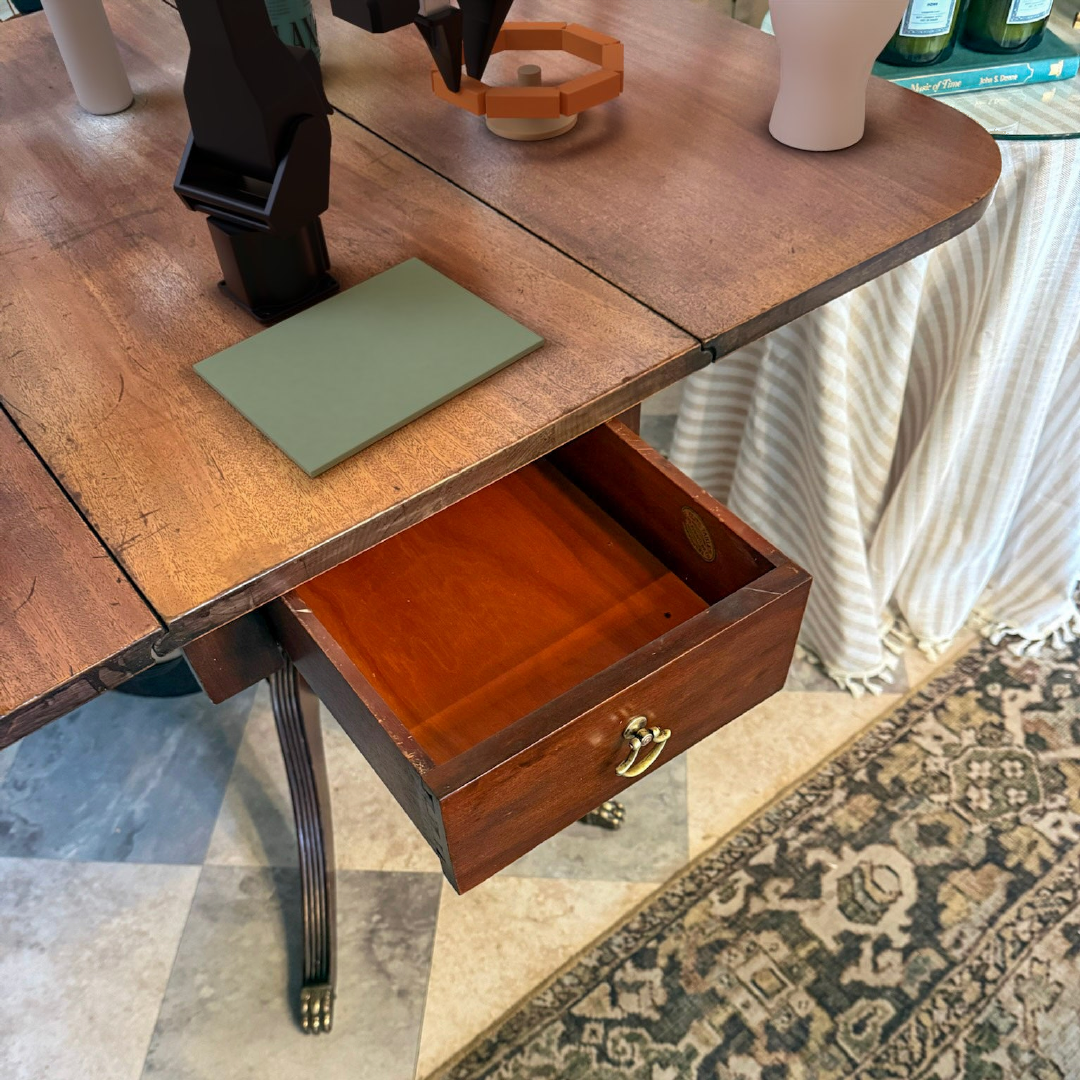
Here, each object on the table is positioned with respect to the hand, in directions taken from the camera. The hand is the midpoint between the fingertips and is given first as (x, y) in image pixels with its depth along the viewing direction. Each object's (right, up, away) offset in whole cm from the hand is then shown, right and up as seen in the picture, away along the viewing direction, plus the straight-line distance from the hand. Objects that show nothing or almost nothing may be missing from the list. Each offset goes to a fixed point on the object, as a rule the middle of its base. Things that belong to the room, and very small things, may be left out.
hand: (464, 87), depth 81 cm
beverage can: (-34, +4, +12) cm, 36 cm away
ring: (+5, +3, +4) cm, 7 cm away
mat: (-5, -25, -16) cm, 30 cm away
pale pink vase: (+29, -2, +3) cm, 30 cm away
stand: (+5, 0, +7) cm, 9 cm away
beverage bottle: (-17, +7, +15) cm, 24 cm away
